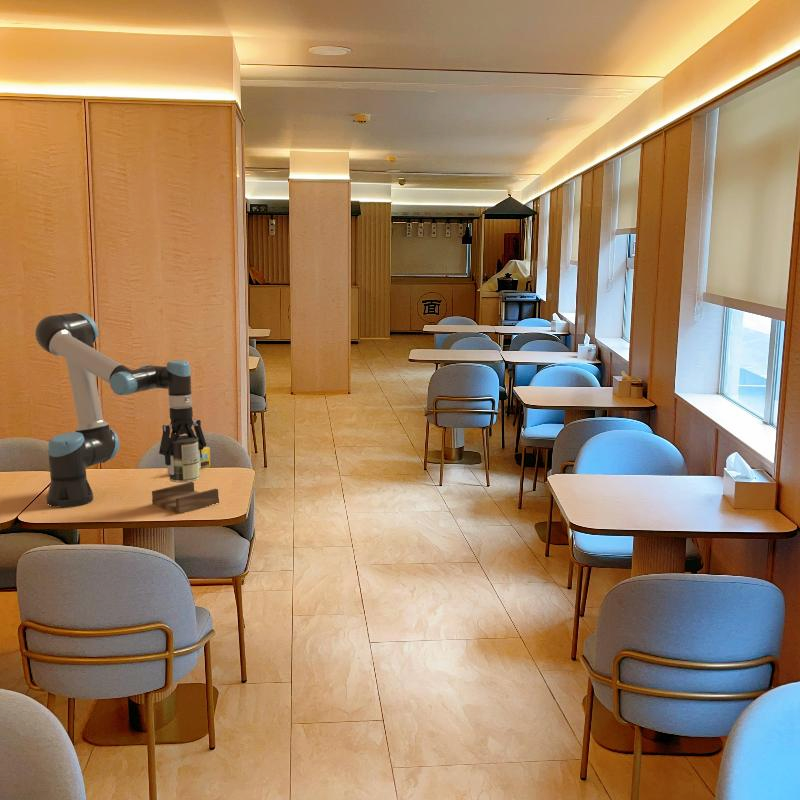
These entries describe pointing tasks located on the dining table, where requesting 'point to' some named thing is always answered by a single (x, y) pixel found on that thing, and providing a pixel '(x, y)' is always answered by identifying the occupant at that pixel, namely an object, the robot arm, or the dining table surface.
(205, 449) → the candy box
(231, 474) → the dining table surface
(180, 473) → the coffee can
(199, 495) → the stand
